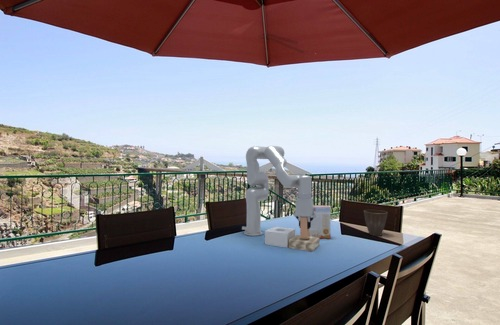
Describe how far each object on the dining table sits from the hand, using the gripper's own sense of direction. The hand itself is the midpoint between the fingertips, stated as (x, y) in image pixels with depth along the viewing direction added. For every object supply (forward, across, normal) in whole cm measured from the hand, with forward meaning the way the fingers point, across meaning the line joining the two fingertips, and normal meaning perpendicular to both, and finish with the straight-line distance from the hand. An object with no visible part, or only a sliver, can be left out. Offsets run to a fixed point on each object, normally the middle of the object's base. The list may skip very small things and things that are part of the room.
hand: (304, 227), depth 169 cm
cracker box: (+11, +2, +25) cm, 27 cm away
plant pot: (+11, +34, +52) cm, 63 cm away
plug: (+6, 0, 0) cm, 6 cm away
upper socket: (+11, -15, 0) cm, 19 cm away
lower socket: (+11, 0, 0) cm, 11 cm away
